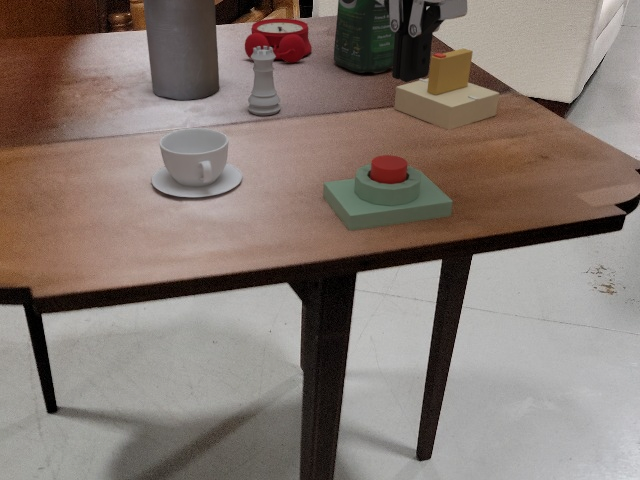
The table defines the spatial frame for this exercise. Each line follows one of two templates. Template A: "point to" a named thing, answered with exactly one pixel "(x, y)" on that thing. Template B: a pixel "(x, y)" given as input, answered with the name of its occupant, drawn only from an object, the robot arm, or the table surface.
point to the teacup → (195, 164)
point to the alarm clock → (280, 38)
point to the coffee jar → (363, 36)
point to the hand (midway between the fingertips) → (410, 76)
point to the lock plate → (446, 104)
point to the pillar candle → (182, 47)
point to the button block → (385, 200)
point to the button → (388, 169)
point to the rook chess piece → (263, 84)
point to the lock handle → (449, 71)
